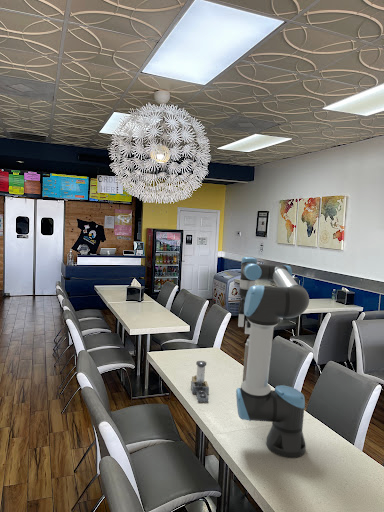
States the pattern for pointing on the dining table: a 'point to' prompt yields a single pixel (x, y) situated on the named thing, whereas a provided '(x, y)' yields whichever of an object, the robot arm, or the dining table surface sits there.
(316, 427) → the dining table surface
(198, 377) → the pin
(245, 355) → the thermos bottle
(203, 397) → the chain ends
